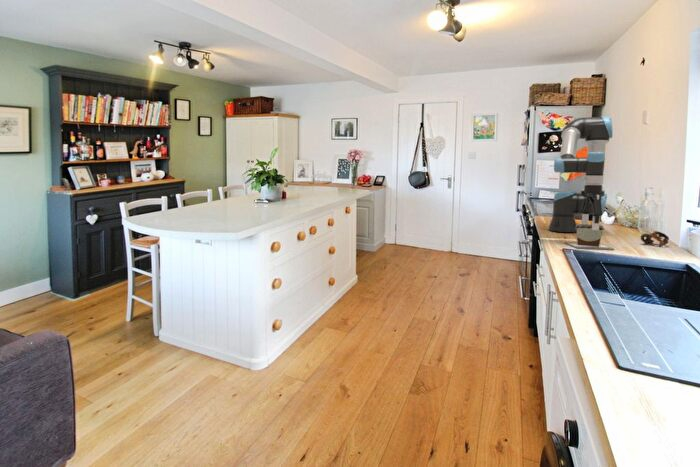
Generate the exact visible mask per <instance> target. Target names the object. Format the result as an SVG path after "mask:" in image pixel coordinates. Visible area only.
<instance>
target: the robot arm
mask: <svg viewBox="0 0 700 467" xmlns="http://www.w3.org/2000/svg"><path fill="white" fill-rule="evenodd" d="M560 137H561V140H562V142H561V148H560V154H559V157H555V159H554V162H553V163H554V164H553V171H554V172H555V173H561V174H563V173H564V174H565V173H567V174H568V173H569V174H571V173H575V174H576V173H578V174H579V173H580V174H582V173H583V174H585V177H584V178H583V180H584V187H583V188H582V189H581V190H580V192H578V191H577V190H570V191H562V192H561V191H560V192H556V193H555V194H554V197H553V209H552V218H551V220H550V222H549V225H548V229H547V230H548V231H550V232H561V233H562V232H563V233H577V229H575V227H576V226H577V223H576V218H575V216H576V214H579V215H580V214H581V216H582V217H581V224H588V225H589V218H590V217H589V216H590V215H592V222H591V225H592V230H599V225H600V221H601V220H600V219H601V216H603V213H604V211H605V210H604V209H605V206H606V203H607V198H608V194H606V193H605V190H604V188H603V183H604V171H605V162H606V145H607V144H608V143H609V142H610V139H612V138H613V121H612V118H611V117H609V116H591V117H578V118H575V119H573V120H571V121H570V122H568V123H567V124H566V125H565V126H564V127H563V129H562V130H561V135H560ZM580 139H581V140H582V139H584V140H585V143H586V144H587V154H586V157H577V152H578V150H577V149H578V140H580Z"/></svg>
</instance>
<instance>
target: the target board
mask: <svg viewBox="0 0 700 467" xmlns="http://www.w3.org/2000/svg"><path fill="white" fill-rule="evenodd" d="M564 244H565V245H567V246H568V247H569V246H570V247H573V248H574V249H576V250H596V251H597V250H599V251H600V250H602V251H614V250H615V248H612V247H609V246H608V245H603V244H601V243H600V245H599V247H593V246H582V245H577V242H564Z"/></svg>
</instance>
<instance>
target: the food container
mask: <svg viewBox="0 0 700 467" xmlns="http://www.w3.org/2000/svg"><path fill="white" fill-rule="evenodd" d="M576 225H577V226H576V227H575V229H577V232H576V243H577V245H582V246H593V247H599V245H600V244H601V240H602V235H603V231H605V227H604V225H600V224H599V230H592V224H589V223H588V224H582V223H581V224H579V223H576Z"/></svg>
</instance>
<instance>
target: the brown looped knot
mask: <svg viewBox="0 0 700 467" xmlns="http://www.w3.org/2000/svg"><path fill="white" fill-rule="evenodd" d="M662 238H663V239H662ZM653 239H654V240H653ZM640 240H641V241H642V242H643V244H645V245H648V244H653V243H654V241H655V240H656V241H658V242H659V244H657V245H658V247H659V248H661V247H663V246H665V245H666V246H667V244H668V243H669V240H670V237H669V236H668V235H667V234H665V233H663V232H661V231H658V230H656V231H655V230H654V231H653V232H652V233H649V234H648V233H642V234H641V236H640Z"/></svg>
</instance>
